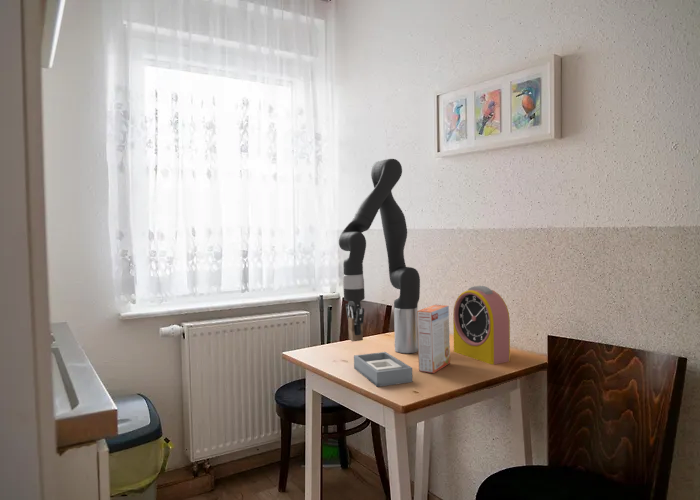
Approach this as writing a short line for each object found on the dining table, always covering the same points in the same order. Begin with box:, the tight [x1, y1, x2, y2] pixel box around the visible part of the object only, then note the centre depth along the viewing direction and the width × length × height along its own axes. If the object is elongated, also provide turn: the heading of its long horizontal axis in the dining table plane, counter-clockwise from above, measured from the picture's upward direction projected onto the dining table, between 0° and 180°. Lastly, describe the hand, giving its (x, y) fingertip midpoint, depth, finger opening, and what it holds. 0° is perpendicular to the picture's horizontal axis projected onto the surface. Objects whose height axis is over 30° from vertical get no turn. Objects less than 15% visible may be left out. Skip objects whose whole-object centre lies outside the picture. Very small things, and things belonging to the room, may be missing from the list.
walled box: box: [353, 351, 413, 388], centre depth 156 cm, size 12×21×4 cm, turn 19°
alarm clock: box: [452, 285, 511, 365], centre depth 176 cm, size 21×9×26 cm, turn 27°
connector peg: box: [347, 317, 364, 342], centre depth 171 cm, size 4×4×8 cm
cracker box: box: [417, 304, 451, 374], centre depth 163 cm, size 14×6×21 cm, turn 145°
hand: (355, 333), depth 171 cm, fingers closed on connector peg, 4 cm apart
